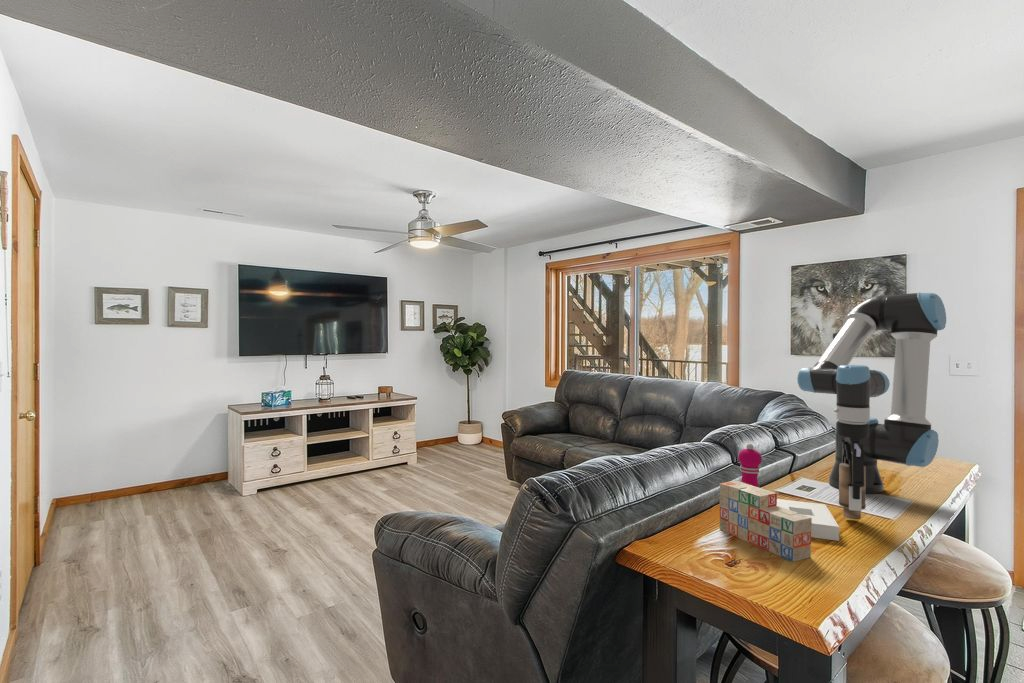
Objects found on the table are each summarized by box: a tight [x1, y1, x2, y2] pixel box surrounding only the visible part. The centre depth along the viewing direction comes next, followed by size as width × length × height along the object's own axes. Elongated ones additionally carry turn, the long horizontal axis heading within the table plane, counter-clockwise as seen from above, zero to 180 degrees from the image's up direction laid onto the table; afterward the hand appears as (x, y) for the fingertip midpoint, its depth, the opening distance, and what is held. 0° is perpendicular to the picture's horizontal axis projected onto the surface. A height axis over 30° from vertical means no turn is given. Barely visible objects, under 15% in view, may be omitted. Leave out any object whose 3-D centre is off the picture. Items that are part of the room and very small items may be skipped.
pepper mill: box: [737, 443, 762, 488], centre depth 143 cm, size 7×7×20 cm
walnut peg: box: [838, 463, 867, 520], centre depth 138 cm, size 6×6×14 cm
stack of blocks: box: [719, 480, 812, 562], centre depth 124 cm, size 21×6×12 cm, turn 23°
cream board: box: [776, 498, 840, 542], centre depth 136 cm, size 14×18×4 cm
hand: (852, 505), depth 138 cm, fingers closed on walnut peg, 6 cm apart
